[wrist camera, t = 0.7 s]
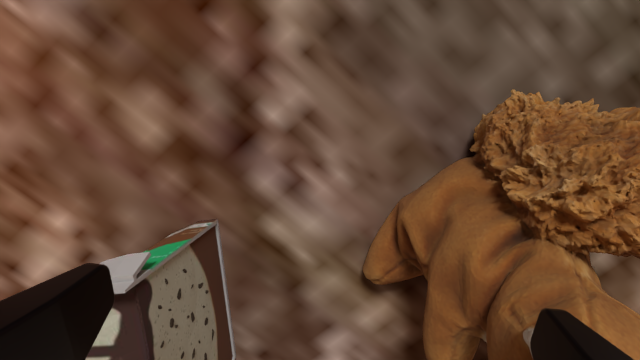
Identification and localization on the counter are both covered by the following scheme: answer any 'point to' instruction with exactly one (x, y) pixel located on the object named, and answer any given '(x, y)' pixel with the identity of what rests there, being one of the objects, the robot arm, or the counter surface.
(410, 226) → the stuffed squirrel
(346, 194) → the counter surface
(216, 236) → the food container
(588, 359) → the robot arm
